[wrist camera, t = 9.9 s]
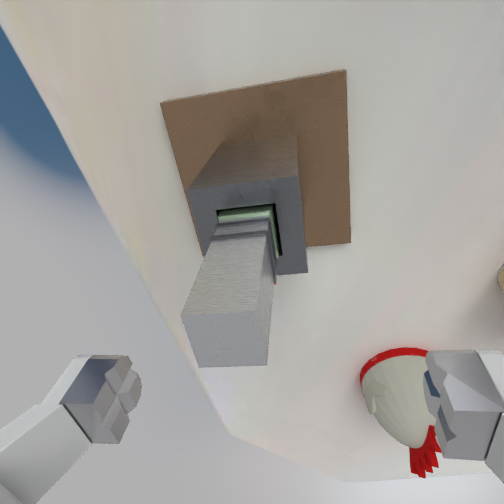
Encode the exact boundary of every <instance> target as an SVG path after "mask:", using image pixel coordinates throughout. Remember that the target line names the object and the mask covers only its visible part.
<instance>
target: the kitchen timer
mask: <svg viewBox="0 0 504 504" xmlns="http://www.w3.org/2000/svg"><path fill="white" fill-rule="evenodd" d="M427 352H428V351H426V350H422V349H418V348H397V349H391V350H388V351H385V352H382V353H380V354H378V355H376V356H374V357H373V358H371V359H370V360H369V361H368V362H367V363H366V364H365V365H364V367H363V368H362V371H361V374H360V382H361V387H362V392H363V395H364V397H365V399H366V403H367V407H368V410H369V413H370V414H374V415H375V417H376V419H377V420H378V422H379V423H380V425H381V426H382V427H383V428H384V429H385V430H386V431H387V432H388V433H389V434H390V435H391V436H392V437H394V438H395V439H396V440H397V441H399V442H400V443H402V444H404V445H406V446H408V447H409V449H410V468H411V473H414V474H418V476H419V477H422V478H426V475H425V470H426V472H431V473H433V470H432V466H433V467H438V468H439V466H438V461H437V457H436V453H435V451H436V452H440V453H442V451H441V448H440V447H439V445H438V444H439V442H438V439H437V436H436V433H435V430H434V429H435V423H436V418H435V417H434V416H433V415H432V414H430V413H429V411H428V408H427V404H426V401H425V396H424V389H423V376H424V373H425V372H426V371H427V370H428V367H427V364H426V362H425V360H426V354H427Z"/></svg>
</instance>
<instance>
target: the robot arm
mask: <svg viewBox="0 0 504 504" xmlns="http://www.w3.org/2000/svg"><path fill="white" fill-rule="evenodd" d="M425 362H426V364H427V367H428V370H427V371H426V372H425V373H424V376H423V389H424V396H425V401H426V404H427V408H428V411H429V413H430V414H432V415H433V416H434V417H435V418H436V423H435V429H434V430H435V433H436V436H437V439H438V442H439V445H440V448H441V451H442V454H443V458H450V459H464V460H478V461H485V464H486V465H487V466H488V467H489V468H490V469H491V470H492V471H493V472H494V473H495V474H496V475H497V476H498V477H499V479H500V480H501V481H502V482H503V483H504V355H503V353H501V352H500V351H499V350H442V351H428V352H427V354H426V360H425ZM131 366H132V362H131V360H130V359H129V357H128V356H121V355H120V356H119V355H79V356H77V357H76V358H74V359H73V360H72V361H71V363H70V364H69V366H68V367H67V369H66V370H65V371H64V373H63V374H62V376H61V377H60V378H59V380H58V381H57V383H56V384H55V386H54V387H53V388H52V390H51V391H50V392H49V394H48V395H47V397H46V398H45V399H44V401H43V402H42V404H36V405H35V406H33V407H32V408H30V409H29V410H28V411H26V412H25V413H23V414H22V415H21V416H19V417H18V418H16V419H15V420H14V421H12V422H11V423H9V424H8V425H7V426H5V427H4V428H2V429H1V430H0V504H36V502H37V501H39V500H40V498H42V496H43V495H44V494H45V493H46V492H47V491H48V490H49V489H50V488H51V487H52V486H53V485H54V484H55V483H56V482H57V481H58V480H59V479H60V478H61V477H62V476H63V475H64V474H65V473H66V472H67V471H68V470H69V469H70V467H72V466H73V464H74V463H75V462H76V461H77V460H78V459H79V458H80V457H81V456H82V455H83V454H84V453H85V452H86V451H87V450H88V449H89V448H90V447H91V446H92V443H109V444H119V443H120V441H121V439H122V437H123V434H124V432H125V430H126V428H127V426H128V424H129V421H130V420H129V415H128V413H129V412H130V411H131V410H133V409H134V408H135V407H136V406H137V403H138V401H139V399H140V395H141V387H142V385H141V379H140V377H139V375H138V373H136V372H135V371H133V370H132V369H130V368H131Z"/></svg>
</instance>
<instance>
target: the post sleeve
mask: <svg viewBox="0 0 504 504" xmlns="http://www.w3.org/2000/svg"><path fill="white" fill-rule="evenodd" d="M160 106H161V109H162V113H163V116H164V120H165V123H166V127H167V130H168V134H169V138H170V141H171V145H172V148H173V152H174V155H175V159H176V162H177V166H178V170H179V173H180V177H181V180H182V184H183V187H184V191H185V194H186V198H187V202H188V205H189V209H190V212H191V216H192V219H193V223H194V226H195V230H196V234H197V237H198V241H199V244H200V248H201V251H202V255H203V256H206V253H207V251H208V249H209V246H210V240H209V239H210V236H214V234H215V232H216V230H215V225H216V224H218V223H219V219H218V216H219V213H220V211H223V210H225V209H229V208H237V207H246V206H255V205H263V204H272V203H275V204H276V211H277V218H278V225H279V228H278V246H279V258H277V268H275V273H276V275H285V274H298V273H308V266H307V249H306V247H310V246H321V245H332V244H343V243H351V227H350V191H349V155H348V119H347V84H346V70H345V69H343V70H337V71H332V72H326V73H320V74H315V75H309V76H303V77H298V78H292V79H287V80H281V81H275V82H270V83H264V84H258V85H253V86H247V87H242V88H236V89H230V90H225V91H219V92H213V93H208V94H202V95H197V96H191V97H185V98H180V99H174V100H169V101H164V102H161V103H160ZM276 279H277V277H276ZM274 284H276V283H274Z"/></svg>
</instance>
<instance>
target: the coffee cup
mask: <svg viewBox="0 0 504 504" xmlns="http://www.w3.org/2000/svg"><path fill="white" fill-rule="evenodd" d="M498 284H499V286H500V288H501V290H502V291H503V293H504V265H503V266H502V267H501V269H500V271H499V273H498Z"/></svg>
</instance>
